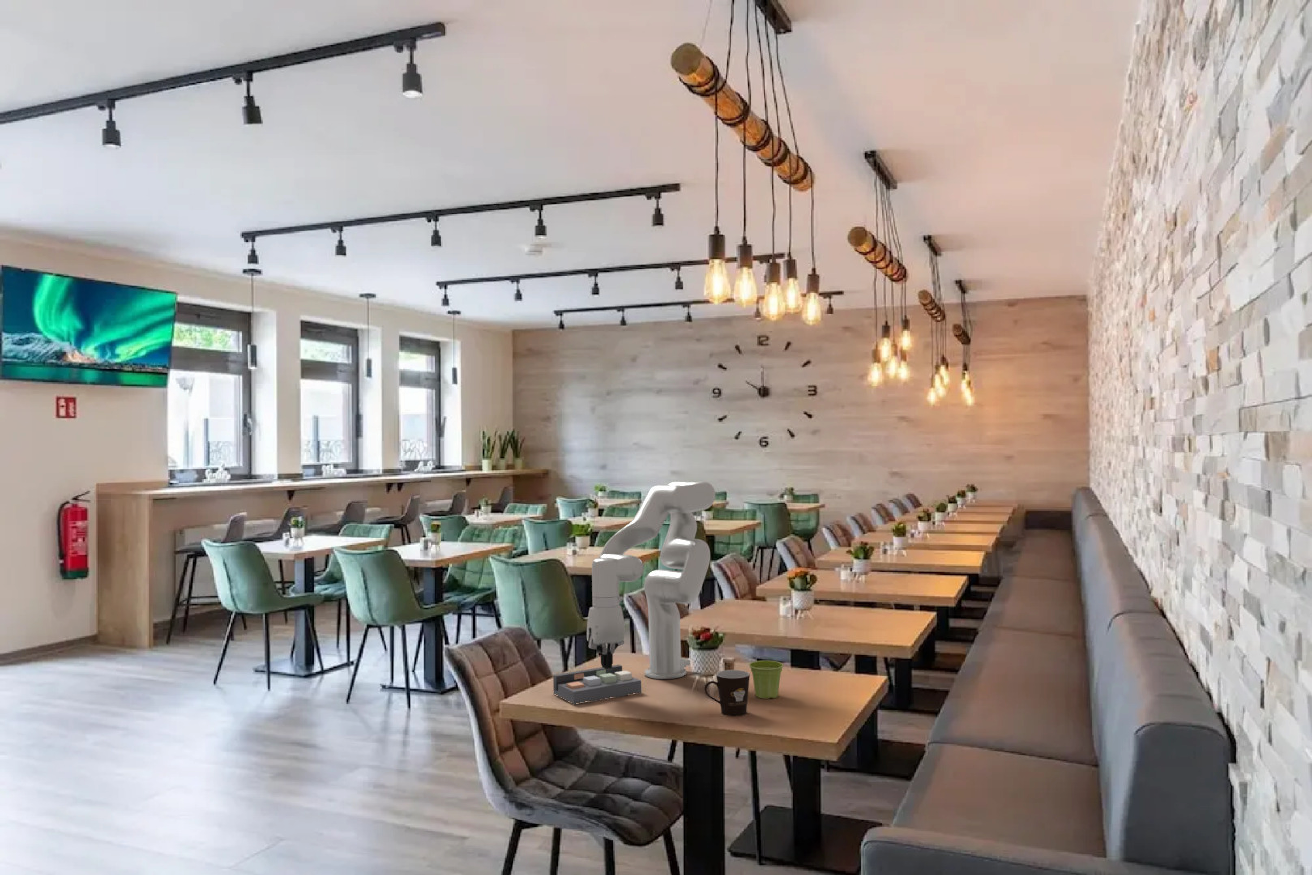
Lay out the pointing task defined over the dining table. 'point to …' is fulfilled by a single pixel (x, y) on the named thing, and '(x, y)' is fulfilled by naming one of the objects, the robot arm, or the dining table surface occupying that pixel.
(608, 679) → the key sage
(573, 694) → the keypad
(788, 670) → the dining table surface
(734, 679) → the coffee mug
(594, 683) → the key slate
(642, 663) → the dining table surface
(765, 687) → the plant pot
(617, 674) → the key cream
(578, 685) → the key terracotta
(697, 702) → the dining table surface
